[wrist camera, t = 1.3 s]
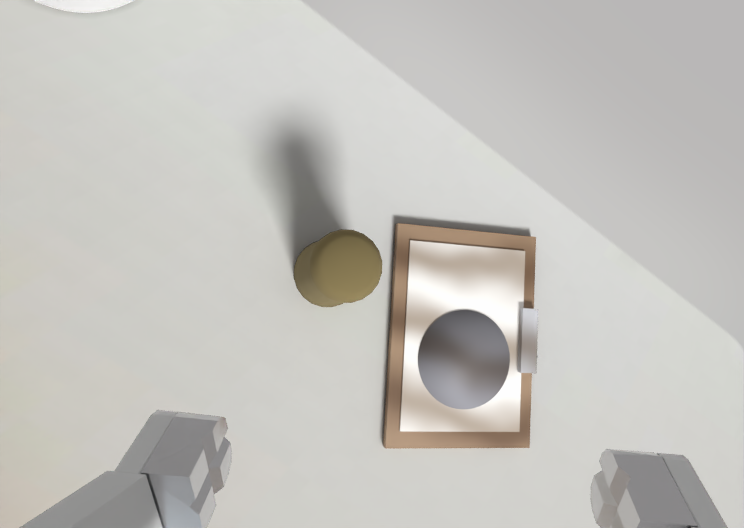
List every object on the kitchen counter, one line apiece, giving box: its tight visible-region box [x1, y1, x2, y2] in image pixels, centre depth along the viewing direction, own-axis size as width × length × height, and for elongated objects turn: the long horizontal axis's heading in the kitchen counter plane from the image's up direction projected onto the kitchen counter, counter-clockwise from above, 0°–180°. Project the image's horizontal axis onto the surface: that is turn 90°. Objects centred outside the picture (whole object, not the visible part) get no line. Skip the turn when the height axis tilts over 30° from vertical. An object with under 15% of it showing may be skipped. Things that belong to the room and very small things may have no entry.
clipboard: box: [383, 223, 538, 448], centre depth 45 cm, size 20×14×2 cm
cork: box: [294, 230, 382, 307], centre depth 38 cm, size 6×6×11 cm
